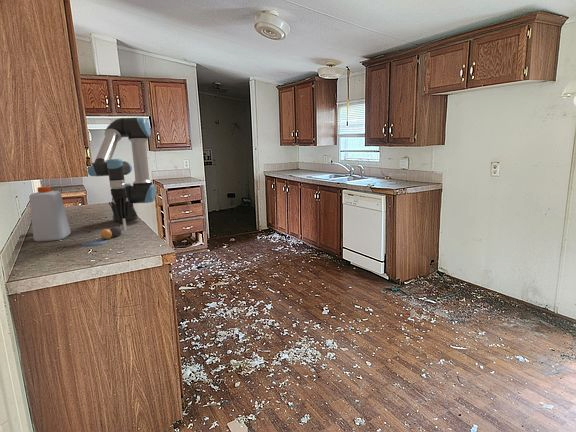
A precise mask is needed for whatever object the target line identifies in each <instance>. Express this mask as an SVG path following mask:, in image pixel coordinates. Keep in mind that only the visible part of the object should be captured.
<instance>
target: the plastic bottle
mask: <svg viewBox="0 0 576 432" xmlns="http://www.w3.org/2000/svg"><path fill="white" fill-rule="evenodd" d="M36 190H37V192H33V193H31V194H30V195H29V196H28V198H29V208H30V215H31V216H30V217H31V226H32V235H33V236H32V237H33V241H35V242H39V243H40V242H41V243H42V242H52V241H54V242H55V241H60V240H63V239H66V238H67V237H68V236H69V235H71V234H72V233H71V232H72V231H71V227H70V224H69V221H68V220H69V219H68V216H67V213H66V209H65V203H64V201H63V196H62V193H61V191H59V190H52V186H49V185H48V186H39V187H37V189H36Z"/></svg>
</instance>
